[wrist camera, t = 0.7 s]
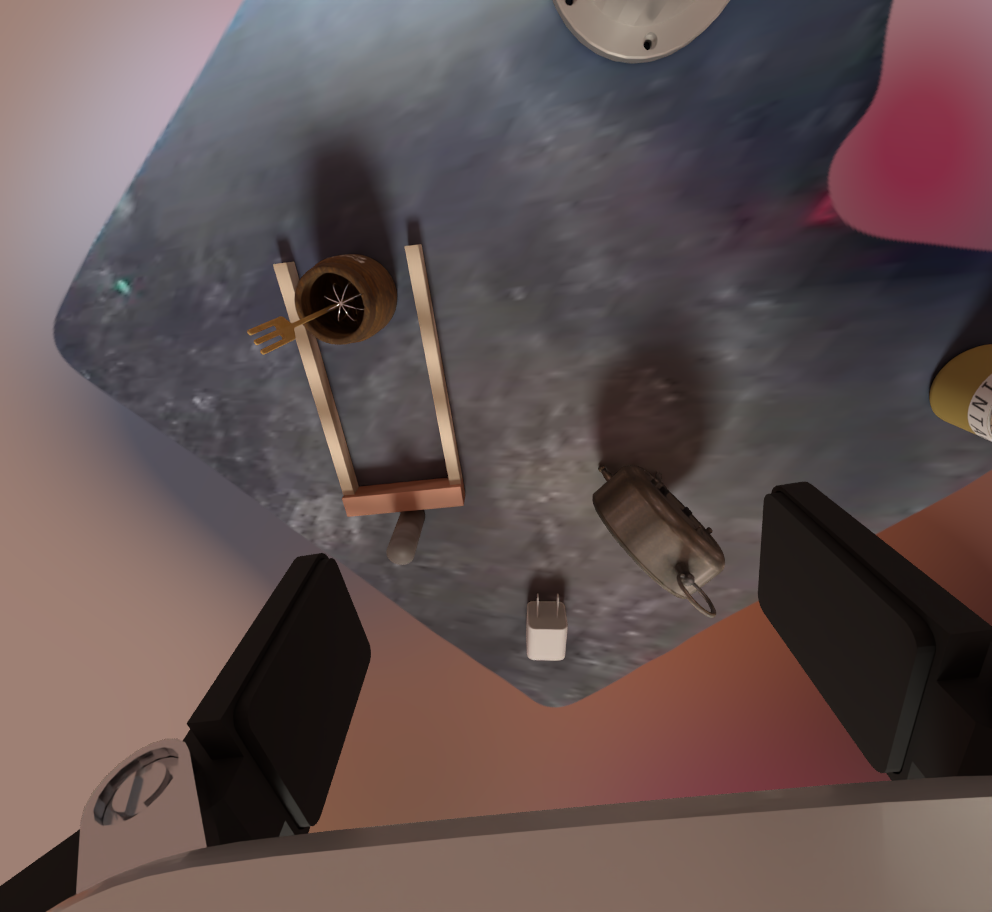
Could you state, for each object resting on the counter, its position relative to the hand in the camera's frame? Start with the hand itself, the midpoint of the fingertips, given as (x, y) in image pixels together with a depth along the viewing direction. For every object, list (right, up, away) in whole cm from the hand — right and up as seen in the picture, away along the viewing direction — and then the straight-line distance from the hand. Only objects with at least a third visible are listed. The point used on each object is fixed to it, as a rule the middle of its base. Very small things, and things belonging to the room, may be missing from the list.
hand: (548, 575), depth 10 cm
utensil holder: (-12, +15, +27) cm, 33 cm away
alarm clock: (+12, 0, +34) cm, 36 cm away
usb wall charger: (+4, -14, +41) cm, 43 cm away
